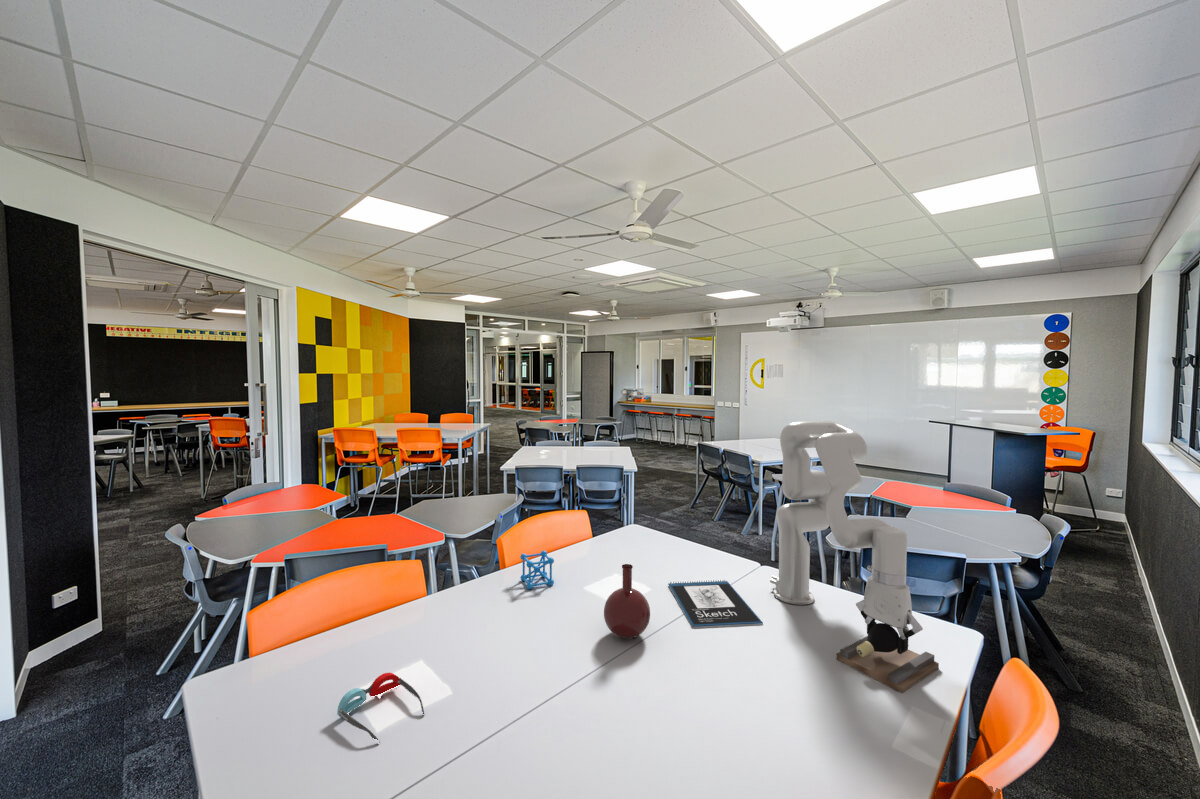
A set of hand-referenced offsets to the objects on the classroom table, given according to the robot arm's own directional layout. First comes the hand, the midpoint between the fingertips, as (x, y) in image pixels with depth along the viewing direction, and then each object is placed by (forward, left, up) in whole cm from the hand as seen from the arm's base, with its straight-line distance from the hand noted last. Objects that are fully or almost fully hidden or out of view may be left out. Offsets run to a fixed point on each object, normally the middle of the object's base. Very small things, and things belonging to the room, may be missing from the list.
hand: (886, 644), depth 123 cm
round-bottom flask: (-46, -49, -5) cm, 67 cm away
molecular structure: (-92, -56, -5) cm, 108 cm away
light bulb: (-1, -4, -1) cm, 4 cm away
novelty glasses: (-47, -113, -6) cm, 122 cm away
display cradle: (0, 0, -5) cm, 5 cm away
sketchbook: (-48, -14, -6) cm, 50 cm away
